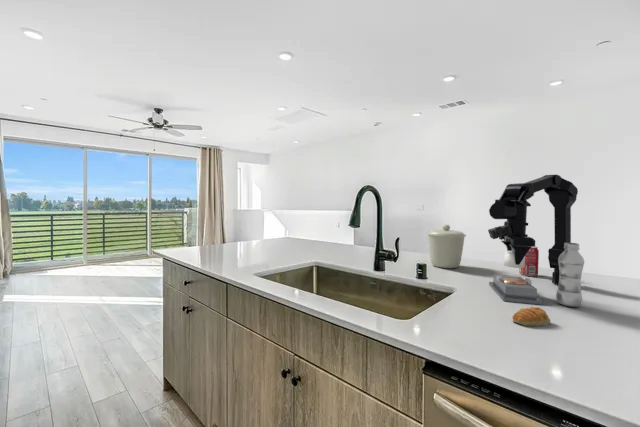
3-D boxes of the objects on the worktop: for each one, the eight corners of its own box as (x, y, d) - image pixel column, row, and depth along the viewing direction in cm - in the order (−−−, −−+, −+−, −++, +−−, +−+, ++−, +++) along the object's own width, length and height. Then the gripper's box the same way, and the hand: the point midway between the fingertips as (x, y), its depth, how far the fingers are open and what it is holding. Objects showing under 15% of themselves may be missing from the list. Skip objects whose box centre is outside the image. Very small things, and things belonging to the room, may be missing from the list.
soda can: (541, 277, 129) (543, 247, 129) (525, 277, 130) (526, 247, 129) (530, 273, 137) (531, 245, 136) (514, 272, 137) (516, 245, 136)
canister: (472, 270, 140) (473, 226, 139) (433, 270, 140) (434, 226, 139) (455, 262, 158) (456, 223, 157) (421, 262, 158) (422, 222, 157)
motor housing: (521, 287, 114) (521, 272, 114) (542, 304, 95) (543, 287, 95) (488, 284, 117) (489, 270, 117) (503, 301, 98) (504, 284, 98)
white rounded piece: (521, 265, 108) (521, 247, 107) (527, 268, 102) (528, 249, 102) (502, 263, 109) (503, 246, 109) (507, 267, 104) (508, 248, 103)
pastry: (529, 330, 77) (530, 316, 77) (504, 320, 83) (505, 307, 83) (552, 324, 80) (552, 311, 80) (526, 315, 87) (527, 303, 87)
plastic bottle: (575, 303, 97) (578, 242, 96) (586, 310, 90) (590, 245, 89) (552, 300, 99) (554, 241, 98) (560, 307, 93) (564, 244, 92)
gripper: (485, 217, 116) (483, 256, 117) (497, 219, 98) (495, 266, 99) (517, 218, 113) (515, 258, 114) (537, 221, 95) (534, 269, 96)
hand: (514, 262), depth 106 cm, fingers closed on white rounded piece, 6 cm apart
